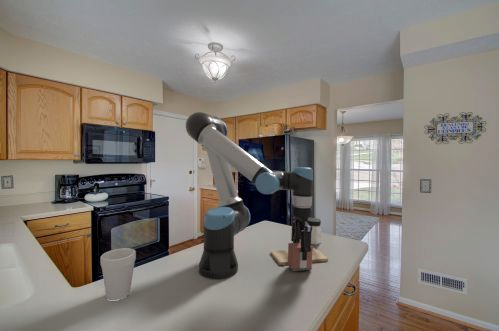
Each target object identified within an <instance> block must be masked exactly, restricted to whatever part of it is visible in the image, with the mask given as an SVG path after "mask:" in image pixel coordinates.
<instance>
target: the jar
mask: <svg viewBox="0 0 499 331" xmlns="http://www.w3.org/2000/svg"><path fill="white" fill-rule="evenodd" d="M308 225H309V226H312V232H311V245H314V246H315V245H319V244H321V243H322V221H321V219H320V218H317V217H309V218H308Z"/></svg>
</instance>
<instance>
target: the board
mask: <svg viewBox="0 0 499 331" xmlns="http://www.w3.org/2000/svg"><path fill="white" fill-rule="evenodd" d="M270 255H271V256H272V257H273V259H274V260H275V261H276V262H277V264H278V265H279V266H288V249H284V250H281V249H280V250H271V251H270ZM323 262H329V258H328V257H327V256H326V255H324V254H323V253H321V251H319V250H318V249H317V248H315V247H313V250H312V264H313V263H323Z"/></svg>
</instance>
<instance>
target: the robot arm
mask: <svg viewBox="0 0 499 331" xmlns="http://www.w3.org/2000/svg"><path fill="white" fill-rule="evenodd" d="M185 131H186V133H187V135H188V136H190V138H191V139H193V140H194V141H196V143H197V144H199V145H200V146H201V148H202V149H204V150H205V151H206V153H207V157H208V162H209V164H210V170H211V173H212V178H213V181H214V185H215V188H216V193H217V197H218V201H219V202H218V204H217V206H216V207H212V208H210V209H208V210H207V211H206V212H205V213H204V217H203V218H204V219H203V251H202V254H201V256H200V257H201V258H200V261H199V262H198V273H199V275H200V276H202V277H204V278H206V279H209V280H223V279H224V280H225V279H227V278H230V277H232V276H235V275H236V274H237V272H238V270H239V262H238V259H237V256H236V252H235V245H234V244H235V236H237V235H238V234H239V233H240V232H242V231H244V230H245V229H246V228H247V227H248V226H249V224H250V221H251V213H250V210H249V208H248V207H247V206H246V205H244V201H243V199H242V198H241V197H240V196H239V195H238V192H237V186H236V184H235V180H234V175H233V172H232V168H231V167H233V168H234V169H235V170H236V171H237V172H239V173H240V174H241V175H242V176H243V177H245V178H246V179H248V180H249V181H250V182H252V183H253V184H254V185H255V187H256V188H255V189H256V190H257V191H258V192H259V193H260V194H263V195H272V194H275V192H278V191H281V190H282V191H285V190H286V191H292V198H291V200H292V202H291V203H292V207H291V216H293V217H291V233H290V234H291V237H290V240H291V241H290V242H292V243H301V250H299V251H300V259H299V268H306V267H307V252H311V246H312V244H311V232H312V226H309V225H308V218H312V211H313V210H312V206H313V202H312V201H313V191H314V190H313V187H314V185H313V184H314V170H313V168H312V167H309V166H307V167H306V166H304V167H303V166H295V167H293V171H283V170H271V169H270V168H268V167H267V166H266V165H265V164H263V163H262V162H260V161H258V159H257V158H255V157H254V156H252V155H251V154H250V153H248V152H247V151H245V150H244V149H243V148H242V147H240V146H239V145H238V144H236V143H235V142H234V141H232V140H231V139H230V138H228V134H229V133H228V132H229V131H228V127H227V124H226V123H225V122H224V121H223V120H222V119H221V118H219V117H217V116H212V115H211V114H208V113H205V112H201V111H200V112H199V111H197V112H194V113H192V114H190V115H189V116H188V118H187V119H186V122H185Z"/></svg>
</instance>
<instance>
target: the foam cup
mask: <svg viewBox="0 0 499 331" xmlns="http://www.w3.org/2000/svg"><path fill="white" fill-rule="evenodd" d="M136 254H137V251H136V250H135V249H134V248H128V247H122V248H115V249H112V250H109V251H106V252H104V253H102V255H101V256H100V267H101V270H102V277H103V284H104V290H105V291H104V292H105V297H106V300H107V299H109V300H117V299H121V298H124V297H126V296H127V295H129V296H130V294H131V289H132V282H133V275H134V268H135V262H136V259H137V255H136ZM129 293H130V294H129ZM126 298H127V297H126Z"/></svg>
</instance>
